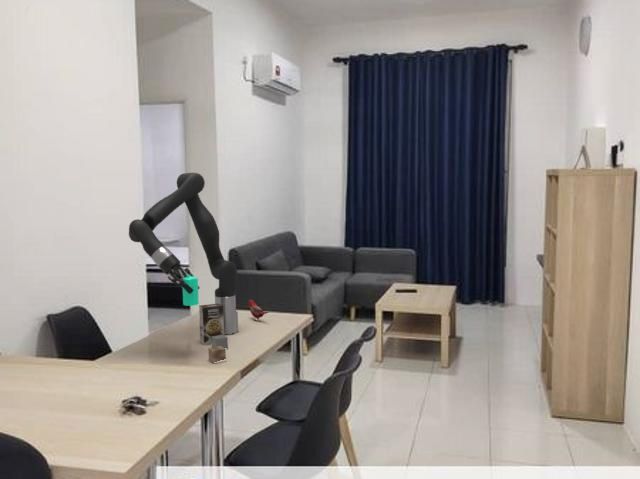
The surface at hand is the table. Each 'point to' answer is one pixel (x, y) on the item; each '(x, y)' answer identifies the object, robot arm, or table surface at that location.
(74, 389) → the table surface
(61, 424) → the table surface
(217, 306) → the coffee box
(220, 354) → the walnut block
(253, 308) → the decorative bird figurine
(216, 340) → the gray cube
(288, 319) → the table surface
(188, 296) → the candle
